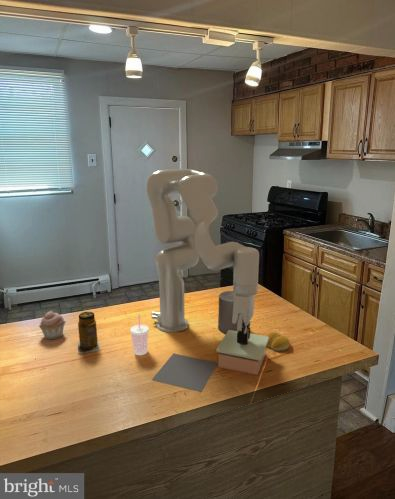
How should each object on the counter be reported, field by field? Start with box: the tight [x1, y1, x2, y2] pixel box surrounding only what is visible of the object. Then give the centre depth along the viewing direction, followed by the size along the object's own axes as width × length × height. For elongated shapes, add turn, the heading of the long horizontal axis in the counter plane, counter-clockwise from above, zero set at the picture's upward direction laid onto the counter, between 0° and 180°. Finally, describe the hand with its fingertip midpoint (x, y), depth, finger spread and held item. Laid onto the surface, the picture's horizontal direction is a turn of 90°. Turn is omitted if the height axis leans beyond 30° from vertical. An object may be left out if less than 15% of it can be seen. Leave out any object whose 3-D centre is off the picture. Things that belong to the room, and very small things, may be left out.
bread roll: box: [265, 331, 290, 352], centre depth 133 cm, size 8×9×4 cm
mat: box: [151, 353, 218, 393], centre depth 117 cm, size 16×16×1 cm
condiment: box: [76, 311, 101, 354], centre depth 130 cm, size 7×8×12 cm
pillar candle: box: [217, 290, 238, 334], centre depth 143 cm, size 10×10×15 cm
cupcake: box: [38, 310, 67, 340], centre depth 138 cm, size 9×9×10 cm
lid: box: [215, 328, 269, 361], centre depth 120 cm, size 14×14×6 cm
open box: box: [217, 347, 267, 377], centre depth 122 cm, size 13×13×5 cm
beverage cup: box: [129, 314, 149, 356], centre depth 126 cm, size 6×6×14 cm
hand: (243, 340), depth 120 cm, fingers closed on lid, 3 cm apart
